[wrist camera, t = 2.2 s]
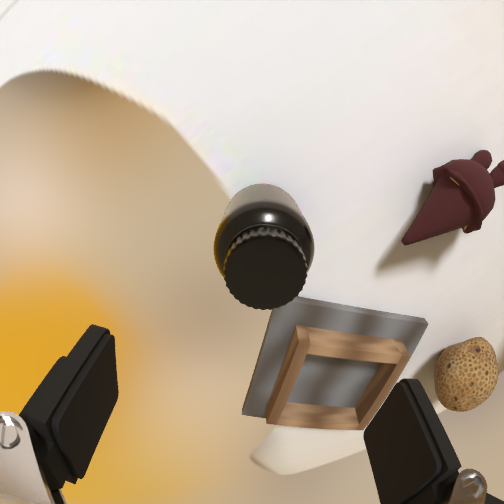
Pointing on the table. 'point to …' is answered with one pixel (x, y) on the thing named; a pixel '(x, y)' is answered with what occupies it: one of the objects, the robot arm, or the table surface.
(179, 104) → the table surface
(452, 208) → the icecream
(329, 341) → the collar board
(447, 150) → the table surface
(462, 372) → the natural sponge
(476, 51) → the table surface
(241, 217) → the supplement bottle
